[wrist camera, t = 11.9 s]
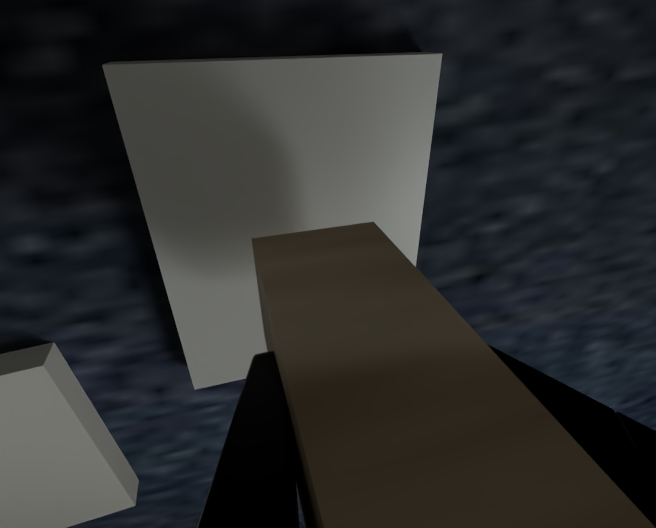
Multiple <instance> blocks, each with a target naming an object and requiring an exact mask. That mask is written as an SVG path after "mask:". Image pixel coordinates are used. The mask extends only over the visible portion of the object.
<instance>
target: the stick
mask: <svg viewBox="0 0 656 528" xmlns="http://www.w3.org/2000/svg"><path fill="white" fill-rule="evenodd" d="M251 239H252V247H253V254H254V262H255V269H256V277H257V284H258V292H259V300H260V307H261V315H262V322H263V330H264V337H265V342H266V347H267V351H274V354H275V358H276V361H277V365H278V369H279V373H280V377H281V381H282V384H283V388H284V392H285V396H286V400H287V404H288V408H289V416H290V426H291V436H292V446H293V456H294V466H295V476H296V488H297V493H298V497H299V502H300V507H301V511H302V516H303V521H304V525H305V528H656V527H655V526H654V525H653V524H652V523H651V522H650V521H649V520H648V519H647V518H646V517H645V516H644V514H643V513H642V512H641V511H640V510H639V509H638V508H637V507H636V506H635V505H634V504H633V502H632V501H631V500H630V499H629V498H628V497H627V496H626V495H625V494H624V493H623V492H622V491H621V489H620V488H619V487H618V486H617V485H616V484H615V483H614V482H613V481H612V480H611V479H610V478H609V476H608V475H607V474H606V473H605V472H604V471H603V470H602V469H601V468H600V467H599V466H598V464H597V463H596V462H595V461H594V460H593V459H592V458H591V457H590V456H589V455H588V454H587V453H586V451H585V450H584V449H583V448H582V447H581V446H580V445H579V444H578V443H577V442H576V441H575V440H574V438H573V437H572V436H571V435H570V434H569V433H568V432H567V431H566V430H565V429H564V428H563V427H562V425H561V424H560V423H559V422H558V421H557V420H556V419H555V418H554V417H553V416H552V415H551V413H550V412H549V411H548V410H547V409H546V408H545V407H544V406H543V405H542V404H541V403H540V402H539V400H538V399H537V398H536V397H535V396H534V395H533V394H532V393H531V392H530V391H529V390H528V389H527V387H526V386H525V385H524V384H523V383H522V382H521V381H520V380H519V379H518V378H517V377H516V375H515V374H514V373H513V372H512V371H511V370H510V369H509V368H508V367H507V366H506V365H505V364H504V362H503V361H502V360H501V359H500V358H499V357H498V356H497V355H496V354H495V353H494V352H493V351H492V349H491V348H490V347H489V346H488V345H487V344H486V343H485V342H484V341H483V340H482V339H481V337H480V336H479V335H478V334H477V333H476V332H475V331H474V330H473V329H472V328H471V327H470V326H469V324H468V323H467V322H466V321H465V320H464V319H463V318H462V317H461V316H460V315H459V314H458V313H457V311H456V310H455V309H454V308H453V307H452V306H451V305H450V304H449V303H448V302H447V301H446V300H445V298H444V297H443V296H442V295H441V294H440V293H439V292H438V291H437V290H436V289H435V288H434V286H433V285H432V284H431V283H430V282H429V281H428V280H427V279H426V278H425V277H424V276H423V275H422V273H421V272H420V271H419V270H418V269H417V268H416V267H415V266H414V265H413V264H412V263H411V262H410V260H409V259H408V258H407V257H406V256H405V255H404V254H403V253H402V252H401V251H400V250H399V248H398V247H397V246H396V245H395V244H394V243H393V242H392V241H391V240H390V239H389V238H388V237H387V235H386V234H385V233H384V232H383V231H382V230H381V229H380V228H379V227H378V226H377V225H376V224H375V222H367V223H359V224H352V225H345V226H338V227H330V228H323V229H316V230H309V231H302V232H294V233H287V234H280V235H273V236H265V237H258V238H251Z"/></svg>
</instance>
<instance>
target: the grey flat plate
mask: <svg viewBox="0 0 656 528" xmlns="http://www.w3.org/2000/svg"><path fill="white" fill-rule="evenodd" d="M441 60H442V54H439V53H428V52H409V53H377V54H345V55H313V56H281V57H249V58H217V59H185V60H153V61H121V62H109V63H106V64H103V65H102V67H103V70H104V74H105V77H106V81H107V84H108V88H109V91H110V95H111V98H112V102H113V105H114V109H115V113H116V116H117V120H118V123H119V127H120V130H121V134H122V137H123V141H124V144H125V148H126V151H127V155H128V158H129V162H130V165H131V169H132V172H133V176H134V179H135V183H136V186H137V190H138V193H139V197H140V200H141V204H142V207H143V211H144V214H145V218H146V221H147V225H148V228H149V232H150V235H151V239H152V242H153V246H154V249H155V253H156V256H157V260H158V263H159V267H160V270H161V274H162V277H163V281H164V284H165V288H166V291H167V295H168V298H169V302H170V305H171V309H172V312H173V316H174V319H175V323H176V326H177V330H178V333H179V337H180V340H181V344H182V347H183V351H184V354H185V358H186V361H187V365H188V368H189V372H190V375H191V379H192V382H193V386H194V389H200V388H204V387H209V386H213V385H218V384H222V383H227V382H231V381H236V380H241V379H245V378H246V376H247V373H248V370H249V367H250V364H251V361H252V358H253V356H254V355H255V354H258V353H263V352H268V351H267V347H266V342H265V337H264V330H263V322H262V315H261V307H260V300H259V292H258V284H257V277H256V269H255V262H254V254H253V247H252V239H251V238H258V237H265V236H273V235H280V234H287V233H294V232H302V231H309V230H316V229H323V228H330V227H338V226H345V225H352V224H359V223H367V222H375V224H376V225H377V226H378V227H379V228H380V229H381V230H382V231H383V232H384V233H385V234H386V235H387V237H388V238H389V239H390V240H391V241H392V242H393V243H394V244H395V245H396V246H397V247H398V248H399V250H400V251H401V252H402V253H403V254H404V255H405V256H406V257H407V258H408V259H409V260H410V262H411V263H412V264H413V265H414V266H415V267H416V260H417V252H418V244H419V236H420V228H421V220H422V212H423V204H424V196H425V188H426V180H427V172H428V164H429V156H430V148H431V140H432V132H433V124H434V116H435V108H436V100H437V92H438V84H439V76H440V68H441Z"/></svg>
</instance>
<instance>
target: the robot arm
mask: <svg viewBox="0 0 656 528" xmlns="http://www.w3.org/2000/svg"><path fill="white" fill-rule="evenodd" d="M487 345H488V344H487ZM488 346H489V347H490V348H491V349H492V351H493V352H494V353H495V354H496V355H497V356H498V357H499V358H500V359H501V360H502V361H503V362H504V364H505V365H506V366H507V367H508V368H509V369H510V370H511V371H512V372H513V373H514V374H515V375H516V377H517V378H518V379H519V380H520V381H521V382H522V383H523V384H524V385H525V386H526V387H527V389H528V390H529V391H530V392H531V393H532V394H533V395H534V396H535V397H536V398H537V399H538V400H539V402H540V403H541V404H542V405H543V406H544V407H545V408H546V409H547V410H548V411H549V412H550V413H551V415H552V416H553V417H554V418H555V419H556V420H557V421H558V422H559V423H560V424H561V425H562V427H563V428H564V429H565V430H566V431H567V432H568V433H569V434H570V435H571V436H572V437H573V438H574V440H575V441H576V442H577V443H578V444H579V445H580V446H581V447H582V448H583V449H584V450H585V451H586V453H587V454H588V455H589V456H590V457H591V458H592V459H593V460H594V461H595V462H596V463H597V464H598V466H599V467H600V468H601V469H602V470H603V471H604V472H605V473H606V474H607V475H608V476H609V478H610V479H611V480H612V481H613V482H614V483H615V484H616V485H617V486H618V487H619V488H620V489H621V491H622V492H623V493H624V494H625V495H626V496H627V497H628V498H629V499H630V500H631V501H632V502H633V504H634V505H635V506H636V507H637V508H638V509H639V510H640V511H641V512H642V513H643V514H644V516H645V517H646V518H647V519H648V520H649V521H650V522H651V523H652V524H653V525H654V526H655V527H656V431H655V430H653V429H651V428H649V427H647V426H645V425H643V424H641V423H639V422H637V421H635V420H633V419H631V418H629V417H627V416H625V415H623V414H621V413H619V412H616V413H615V411H614V410H613V409H611V408H609V407H608V406H606V405H604V404H602V403H600V402H598V401H596V400H594V399H592V398H590V397H588V396H586V395H584V394H582V393H580V392H579V391H577V390H575V389H573V388H571V387H569V386H567V385H565V384H563V383H561V382H559V381H557V380H555V379H553V378H552V377H550V376H548V375H546V374H544V373H542V372H540V371H538V370H536V369H534V368H532V367H530V366H528V365H526V364H524V363H523V362H521V361H519V360H517V359H515V358H513V357H511V356H509V355H507V354H505V353H503V352H501V351H499V350H497V349H495V348H494V347H492V346H490V345H488ZM197 528H300V527H299V514H298V501H297V488H296V476H295V466H294V456H293V446H292V436H291V426H290V416H289V408H288V404H287V400H286V396H285V392H284V388H283V384H282V381H281V377H280V373H279V369H278V365H277V361H276V358H275V354H274V351H268V352H263V353H258V354H255V355H254V356H253V358H252V361H251V364H250V367H249V370H248V373H247V376H246V380H245V383H244V386H243V389H242V392H241V395H240V398H239V401H238V404H237V407H236V410H235V413H234V416H233V419H232V422H231V425H230V428H229V431H228V434H227V437H226V441H225V444H224V447H223V450H222V453H221V456H220V459H219V462H218V465H217V468H216V471H215V474H214V477H213V480H212V483H211V486H210V489H209V492H208V495H207V498H206V502H205V505H204V508H203V511H202V514H201V517H200V520H199V523H198V526H197Z"/></svg>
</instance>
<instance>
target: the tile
mask: <svg viewBox="0 0 656 528" xmlns="http://www.w3.org/2000/svg"><path fill="white" fill-rule="evenodd" d="M138 482H139V479H138V478H137V476H136V475H135V473H134V471H133V470H132V468H131V466H130V465H129V463H128V462H127V460H126V458H125V457H124V455H123V453H122V452H121V450H120V449H119V447H118V445H117V444H116V442H115V440H114V439H113V437H112V436H111V434H110V432H109V431H108V429H107V427H106V426H105V424H104V423H103V421H102V419H101V418H100V416H99V414H98V413H97V411H96V410H95V408H94V406H93V405H92V403H91V401H90V400H89V398H88V397H87V395H86V393H85V392H84V390H83V388H82V387H81V385H80V384H79V382H78V380H77V379H76V377H75V375H74V374H73V372H72V371H71V369H70V367H69V366H68V364H67V362H66V361H65V359H64V358H63V356H62V354H61V353H60V351H59V349H58V348H57V346H56V345H55V343H54V342H53V343H48V344H44V345H39V346H35V347H30V348H26V349H21V350H17V351H12V352H8V353H3V354H0V528H67V527H70V526H73V525H76V524H79V523H83V522H86V521H89V520H92V519H95V518H98V517H102V516H105V515H108V514H111V513H114V512H117V511H120V510H124V509H127V508H130V507H133V506H135V505H136V497H137V490H138Z"/></svg>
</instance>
